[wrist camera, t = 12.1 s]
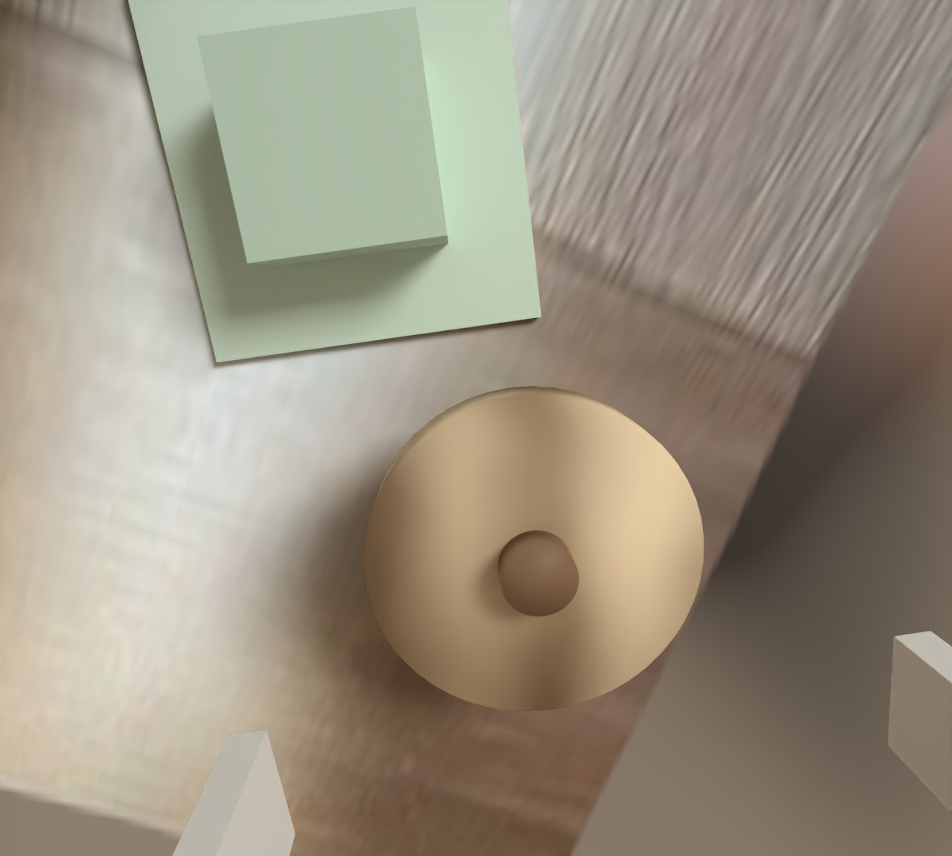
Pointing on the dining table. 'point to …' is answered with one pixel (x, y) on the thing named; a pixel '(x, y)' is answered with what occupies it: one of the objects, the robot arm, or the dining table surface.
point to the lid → (532, 549)
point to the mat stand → (343, 166)
